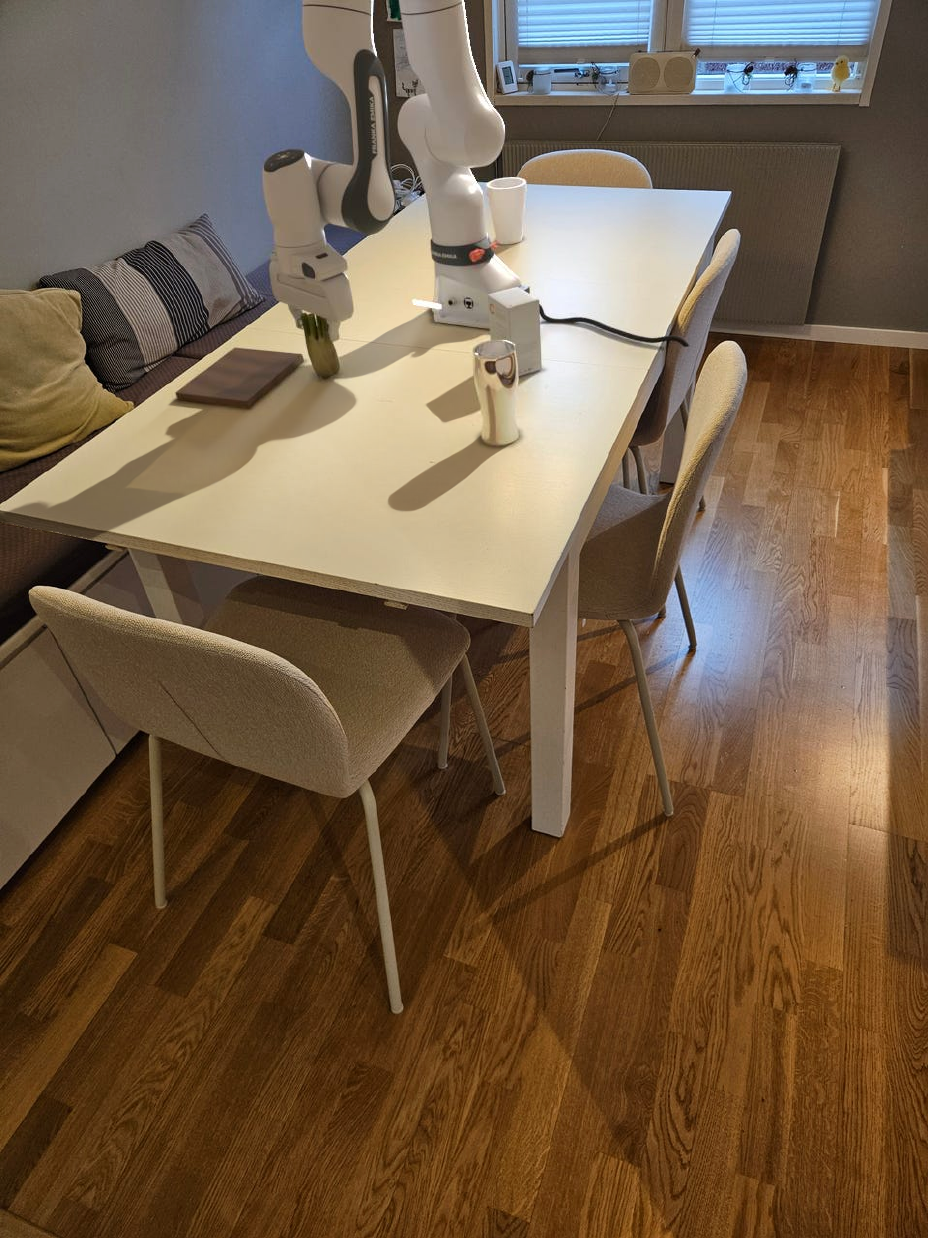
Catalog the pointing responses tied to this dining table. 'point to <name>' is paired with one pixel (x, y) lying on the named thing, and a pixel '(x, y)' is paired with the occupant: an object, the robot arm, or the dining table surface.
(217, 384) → the cutting board
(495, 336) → the small box
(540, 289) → the dining table surface
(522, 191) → the foam cup
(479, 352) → the beer glass
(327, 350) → the fennel bulb
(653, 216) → the dining table surface
